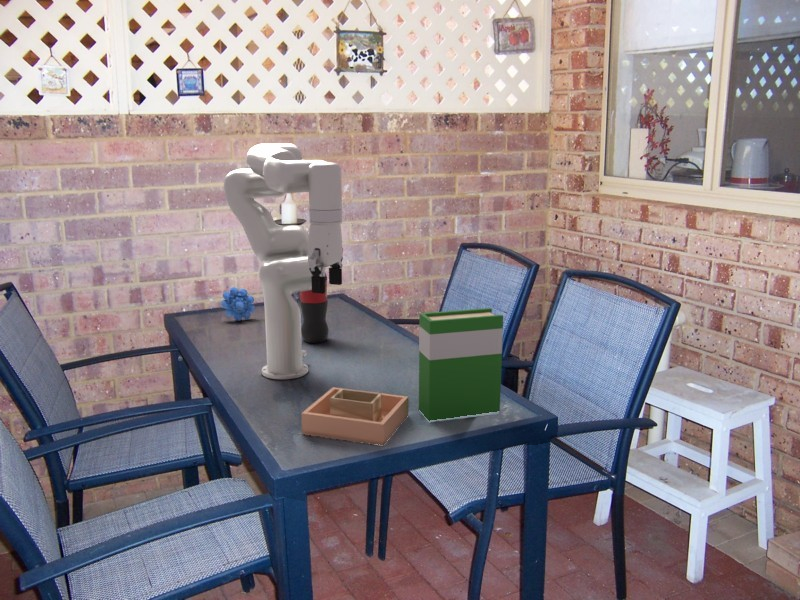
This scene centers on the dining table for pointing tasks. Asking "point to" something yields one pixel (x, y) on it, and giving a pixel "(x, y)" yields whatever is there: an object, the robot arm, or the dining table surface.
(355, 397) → the pine crate
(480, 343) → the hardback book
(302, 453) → the dining table surface
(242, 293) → the blue flower
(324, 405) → the terracotta crate
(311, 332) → the cola bottle
